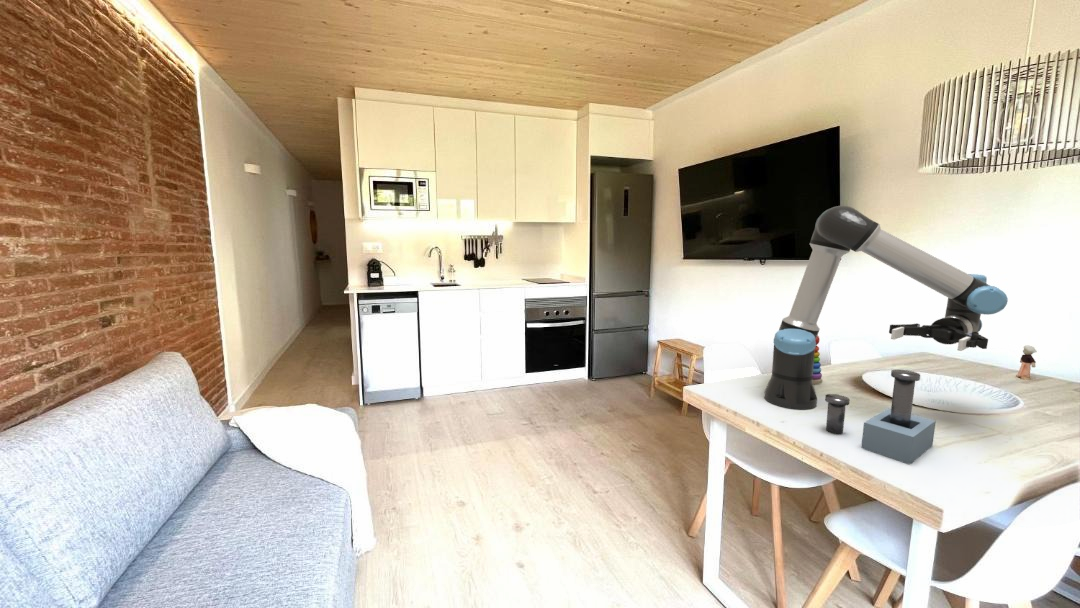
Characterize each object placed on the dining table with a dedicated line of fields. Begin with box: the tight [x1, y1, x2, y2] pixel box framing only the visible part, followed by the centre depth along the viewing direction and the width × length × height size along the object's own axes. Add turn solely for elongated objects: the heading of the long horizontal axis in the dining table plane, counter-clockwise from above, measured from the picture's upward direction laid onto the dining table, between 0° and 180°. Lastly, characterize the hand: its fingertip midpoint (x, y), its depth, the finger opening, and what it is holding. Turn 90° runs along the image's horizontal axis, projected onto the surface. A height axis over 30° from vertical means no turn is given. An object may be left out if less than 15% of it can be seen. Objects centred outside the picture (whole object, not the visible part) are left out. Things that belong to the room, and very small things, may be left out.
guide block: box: [861, 407, 937, 465], centre depth 111 cm, size 16×10×7 cm, turn 123°
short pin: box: [824, 393, 851, 435], centre depth 120 cm, size 6×6×10 cm
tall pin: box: [890, 369, 921, 428], centre depth 110 cm, size 6×6×20 cm
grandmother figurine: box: [1015, 344, 1037, 381], centre depth 160 cm, size 8×4×13 cm, turn 169°
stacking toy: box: [812, 334, 823, 385], centre depth 160 cm, size 8×8×19 cm
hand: (924, 339), depth 112 cm, fingers open, 13 cm apart
